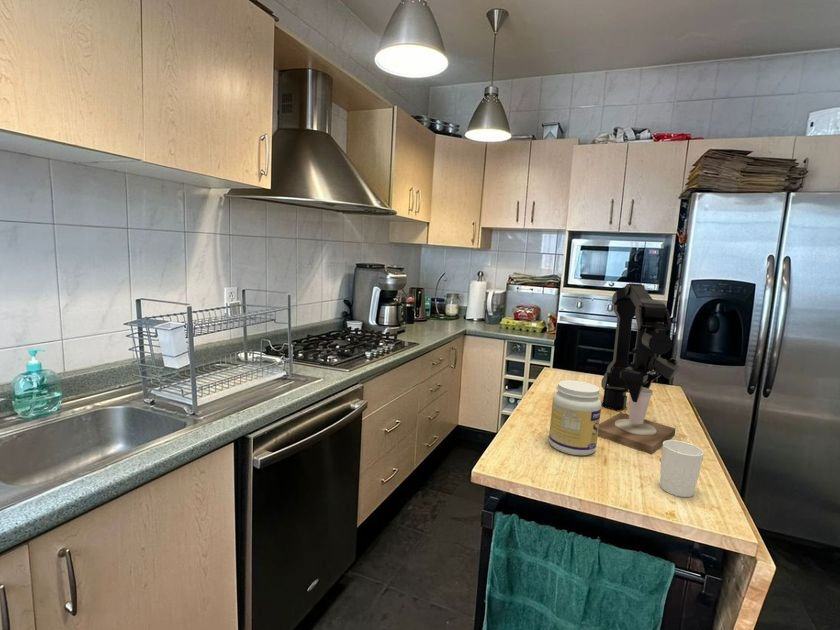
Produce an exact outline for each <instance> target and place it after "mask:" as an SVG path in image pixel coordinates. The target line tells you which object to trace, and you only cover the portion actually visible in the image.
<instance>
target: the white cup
mask: <svg viewBox="0 0 840 630" xmlns="http://www.w3.org/2000/svg"><path fill="white" fill-rule="evenodd" d="M661 448H662V449H661V459H660V460H661V461H660V473H659V474H660V479H659V487H660V488H661V489H662V490H663V491H665V492H667V494H668V493H669V494H670V495H673V496H676V497H681V498H691V497H693V496H694V494H695V491H696V486H697V483H698V480H699V477H700V471H701V467H702V462H703V458H704V455H705V454H704V453H705V452H704V450H703V449H702V448H700V447H698V446H697V445H695V444H692V443H689V442H685V441H681V440H674V439H670V440H667V441H664V442H663V446H661Z"/></svg>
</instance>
